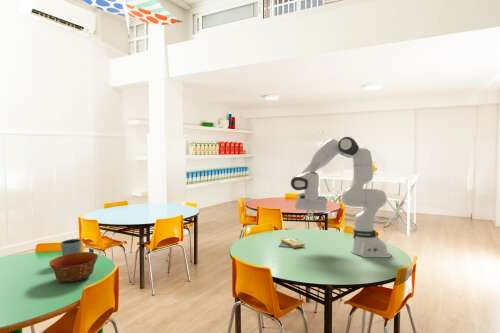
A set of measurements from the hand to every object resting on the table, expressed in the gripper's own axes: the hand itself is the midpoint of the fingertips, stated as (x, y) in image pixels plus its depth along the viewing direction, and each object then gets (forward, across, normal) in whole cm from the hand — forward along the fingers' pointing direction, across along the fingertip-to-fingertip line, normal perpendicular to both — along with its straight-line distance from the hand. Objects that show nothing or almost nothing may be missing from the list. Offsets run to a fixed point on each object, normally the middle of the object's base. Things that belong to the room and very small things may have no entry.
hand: (310, 216), depth 216 cm
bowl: (+23, +119, +69) cm, 139 cm away
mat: (+20, +13, -2) cm, 24 cm away
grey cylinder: (+24, +136, +47) cm, 145 cm away
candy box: (+18, +7, -1) cm, 19 cm away
